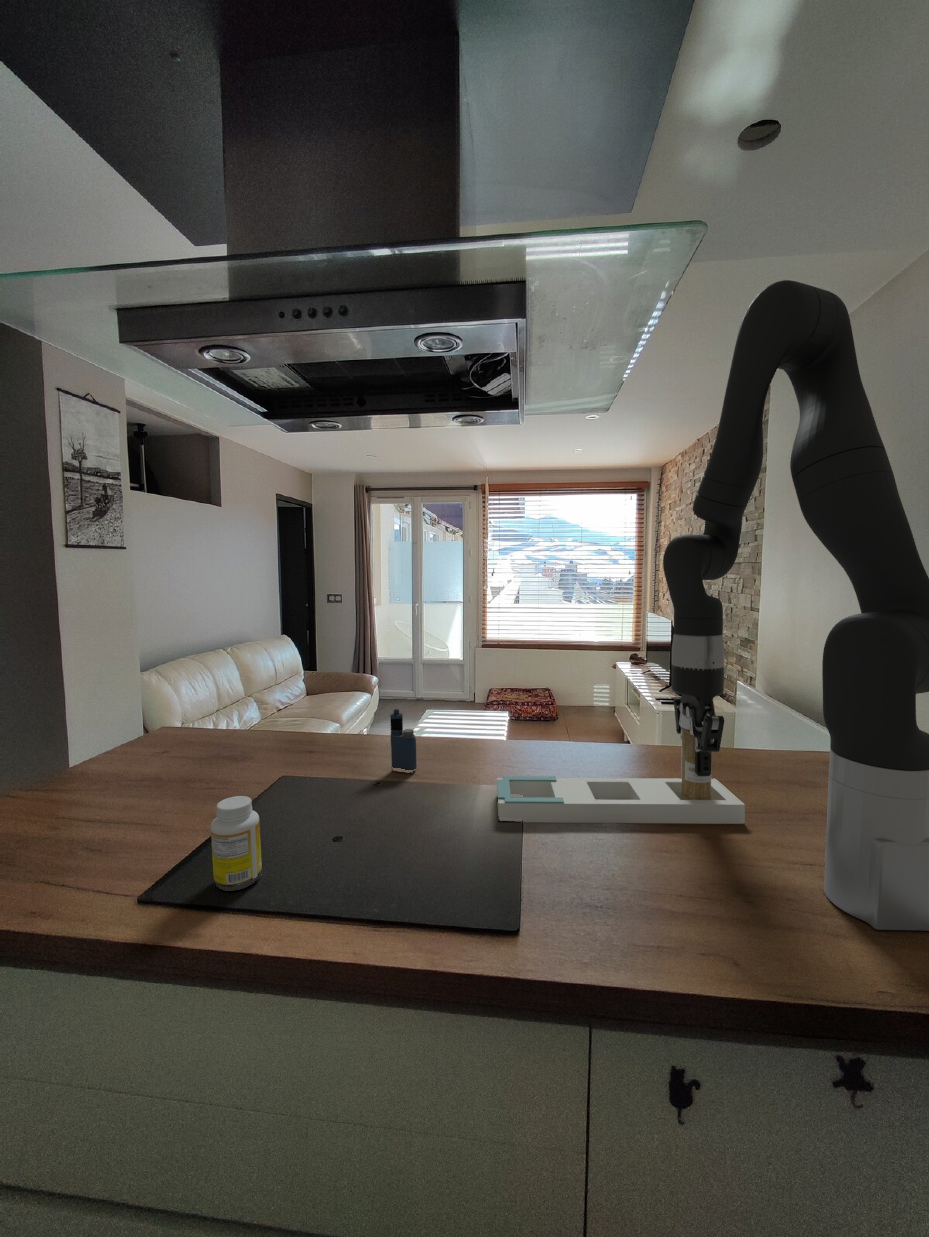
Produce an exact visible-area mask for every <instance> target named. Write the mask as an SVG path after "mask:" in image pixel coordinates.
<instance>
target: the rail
mask: <svg viewBox="0 0 929 1237" xmlns="http://www.w3.org/2000/svg"><path fill="white" fill-rule="evenodd" d="M681 792H682V778H676V777H675V778H673V777H672V778H671V777H670V778H659V777H658V778H657V777H656V778H655V777H654V778H653V777H650V778H639V777H638V778H636V777H634V778H633V777H632V778H631V777H629V778H626V777H624V778H623V777H622V778H621V777H617V778H615V777H614V778H611V777H610V778H609V777H607V778H606V777H601V778H600V777H598V778H597V777H589V778H588V777H585V778H584V777H569V778H568V777H557V776H554V775H553V776H549V775H545V776H544V775H543V776H542V775H539V776H538V775H537V776H536V775H535V776H534V775H533V776H531V775H529V776H526V775H524V776H523V775H520V776H519V775H516V776H514V775H510V776H509V775H505V776H503V775H502V777H496V795H497V797H498V802H497V815H498V816H499V817H506V818H518V819H519V818H521V819H522V820H523V822H522V823H553V824H554V823H558V824H559V823H567V824H568V823H569V824H570V823H571V824H572V823H573V824H574V823H576V824H577V823H578V824H579V823H581V824H583V823H584V824H590V823H591V824H698V825H699V824H708V825H709V824H712V825H713V824H716V825H719V824H720V825H721V824H723V825H727V824H728V825H730V824H732V825H744V824H745V820H746V819H745V818H746V817H745V814H746V804H745V803H744V802H743V801H742V800H741V799H739V798H738V797H737V796H735V795H734V793H732V792H731V791H730V790H729V789H728V788H727V787H726V786H725V785H723V784H722V783H721V782H720V781H719V780H717V779H716V778H711V800H685V799H683V798H682V797H681ZM511 794H518V795H519V794H520V795H523V797H511ZM497 797H496V798H497ZM498 816H497V817H498Z"/></svg>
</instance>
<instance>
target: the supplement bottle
mask: <svg viewBox="0 0 929 1237" xmlns="http://www.w3.org/2000/svg"><path fill="white" fill-rule="evenodd" d="M260 825H261V824H260V816H259V814H258V813H257V811H256V810H253V805H252V799H251V797H249V796H245V795H236V796H231V797H230V796H229V797H227V798H224V799H223V800H220V801H219V802H218V803H217V804H216V817H215V818H213V820H212V821H211V823H210V838H211V839H210V840H211V854H212V855H211V857H212V869H213V870H212V872H213V875H212V876H213V882H214V881H215V882H216V883H217V884H218V885H221V886H224V887H225V886H226V887H234V886H239V885H242V884H244V883H247V882H249V881H251V880H253V879H254V878H256V877H257V876H258V875H259V874H260V873H261V870H262V871H263V869H262V868H263V867H262V866H263V864H262V862H263V861H262V847H261V846H262V845H261V826H260Z"/></svg>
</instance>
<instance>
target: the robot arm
mask: <svg viewBox="0 0 929 1237" xmlns="http://www.w3.org/2000/svg"><path fill="white" fill-rule="evenodd" d="M851 322H852V321H851V319H850V313H849V311H848V308H847V306H846V304H845V303H844V301H843V300H842V299H841V297H840V296H838V295H837V294H835V293H833V292H832V291H829V290H826V289H823V288H820V287H816V286H813V285H810V284H807V283H804V282H799V281H796V280H790V279H783V280H780V281H776V282H773V283H771V284H769V285H767V286H766V287H765V288H763V289H762V290H761V291H760V292H759V293H757V295H756V296H755V297H754V299H753V300H752V301H751V303H750V304H749V305H748V307H747V309H746V312H745V313H744V316H743V318H742V321H741V323H740V326H739V330H738V333H737V338H736V342H735V345H734V350H733V354H732V359H731V364H730V369H729V375H728V379H727V382H726V383H727V384H726V387H725V388H726V389H725V394H724V398H723V402H722V403H723V404H722V408H721V413H720V418H719V423H718V428H717V432H716V437H715V441H714V444H713V447H712V451H711V454H710V457H709V459H708V462H707V466H706V467H705V470H704V473H703V476H702V478H701V481H700V483H699V487H698V489H697V493H696V494H695V498H694V502H693V504H692V512H693V514H694V515H695V517H697V518H698V519H701V520H703V521H704V530H703V533H702V534H686V533H685V534H680V535H677V536H675V537H673V538H672V539H671V540H670V541H669V543H668V544H667V545H666V548H665V549H664V552H663V558H662V567H663V568H662V569H663V573H664V578H665V581H666V585H667V589H668V592H669V596H670V597H669V598H670V600H671V603H672V607H673V636H672V644H671V684H670V685H671V691H672V692H674V693H676V694H678V695H680V696H681V697H674V698H673V706H674V708H673V709H674V720H675V729H676V734H677V735H680V740H681V741H682V726H681V717H682V715H687V717H688V718H689V720H690V735H691V736H693V737H694V744H695V773H696V774H697V775H698V776H710V775H711V760H712V754H713V753H718V752H720V750H721V749H720V748H721V743H722V739H723V738H722V737H723V732H724V725H725V717H724V716H723V715H717V714H716V710H715V705H714V698H716V697H719V696H721V695H722V694H723V693H724V692H725V645H724V638H723V637H724V636H723V635H724V631H723V630H724V607H723V603H722V601H721V600H720V599H719V598H717V597H715V596H712V595H709V594H707V591H706V588H705V584H704V581H715V580H719V579H722V578H723V577H724V576H726V575H727V574H728V573H729V572H730V570H731V569H732V568H733V567H734V564H735V563H736V560H737V557H738V554H739V548H740V541H741V536H742V535H741V533H742V528H743V516H744V513H745V511H746V508H747V507H748V506H747V505H749V502H750V499H751V497H752V494H753V492H754V490H755V487H756V486H757V482H758V480H759V477H760V474H761V470H762V466H763V459H764V413H765V404H766V398H767V395H768V392H769V390H770V387H771V384H772V382H773V379H774V376H775V374H776V373H777V370H778V369H779V370H782V371H784V372H785V374H786V375H787V376H788V379H789V380H790V382H791V386H792V387H793V388H792V389H793V392H794V394H795V397H796V400H797V404H798V409H799V422H798V428H797V431H796V434H795V438H794V442H793V444H792V450H791V454H790V455H791V456H790V461H789V462H790V464H789V465H790V466H789V468H790V475H791V476H790V477H791V480H792V483H793V487H794V490H795V495H796V497H797V501H798V505H799V508H800V511H801V513H802V516H803V518H804V520H805V522H806V523H807V525H808V527H809V528H810V530H811V531H812V532H813V534H814V535H815V536H816V537H817V539H818V540H819V541H820V542H821V544H822V545H823V546H824V547H825V548H826V550H827V551H828V552H829V554H831V555H832V557H834V559H835V560H836V561H837V563H838V564H839V565H840V567H841V568H842V569H843V570H844V572H845V574H846V576H847V577H848V579H849V581H850V583H851V585H852V587H853V590H854V593H855V595H856V599H857V602H858V606H859V609H860V613H855V614H852V615H849V616H846V617H844V618H842V619H841V620H840V621H838V622H837V623H836V624H835V625H834V626H833V627H832V628H831V630H830V631H829V632H828V635H827V637H826V640H825V643H824V646H823V652H822V662H821V663H822V666H821V668H822V669H821V672H822V674H821V675H822V676H821V677H822V679H821V680H822V681H821V682H822V715H823V720H824V724H825V726H826V728H827V729H826V730H827V731H828V734H829V738H830V741H829V742H830V746H829V747H830V748H829V765H828V767H829V768H828V783H827V784H828V788H827V806H826V807H827V810H826V833H825V834H826V835H825V851H824V853H825V855H824V879H823V880H824V883H823V884H824V885H823V891H824V894H825V896H826V897H827V900H829V901H830V902H831V903H833V904H834V906H836V907H837V908H839V909H840V910H842V911H843V912H845V913H847V914H848V915H850V916H852V917H854V918H857V919H858V920H862V921H863V922H866V923H867V924H869V926H871V927H872V929H874V930H879V931H928V932H929V733H928V732H926V731H924V730H922V729H920V728H919V727H918V724H917V695H919V694H925V693H929V575H928V573H927V571H926V569H925V566H924V565H923V562H922V558H921V557H920V554H919V551H918V548H917V545H916V540H915V537H914V534H913V531H912V529H911V526H910V521H909V519H908V516H907V514H906V512H905V509H904V505H903V502H902V500H901V496H900V494H899V490H898V486H897V482H896V479H895V474H894V471H893V467H892V465H891V462H890V460H889V455H888V453H887V450H886V447H885V444H884V442H883V440H882V438H881V437H882V436H881V434H880V432H879V428H878V426H877V423H876V420H875V417H874V414H873V410H872V407H871V405H870V402H869V398H868V396H867V393H866V391H865V390H866V389H865V388H864V387H865V386H864V385H863V384H864V383H863V382H862V378H861V373H860V369H859V364H858V358H857V351H856V346H855V340H854V334H853V333H854V332H853V329H852V324H851ZM696 727H698V728H700V727H703V728H702V731H697V730H696ZM700 737H701V741H700ZM711 776H712V775H711Z"/></svg>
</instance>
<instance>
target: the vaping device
mask: <svg viewBox="0 0 929 1237" xmlns="http://www.w3.org/2000/svg"><path fill="white" fill-rule="evenodd" d="M403 716H404V715H403V713H400V710H399V708H395V709H393V713H390V716H389V717H390V748H391V750H390V752H391V753H390V754H391V755H390V756H391V758H390V759H391V768H392V767H393V768H401V769H405V770H414V769H416V770H417V768H418V767H417V738H416V735H415V733H414V729H413V728H412V729H411V728H407V729H406V728H405V729H404V727H403V726H404V724H403V723H404V722H403Z"/></svg>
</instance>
